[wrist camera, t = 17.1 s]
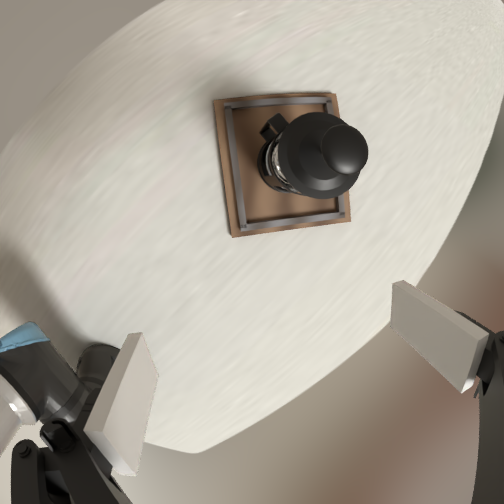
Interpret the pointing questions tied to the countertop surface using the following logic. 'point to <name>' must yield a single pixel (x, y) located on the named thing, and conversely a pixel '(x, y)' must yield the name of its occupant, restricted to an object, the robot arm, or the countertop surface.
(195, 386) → the countertop surface
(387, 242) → the countertop surface
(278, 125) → the french press
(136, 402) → the robot arm
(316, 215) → the serving board
